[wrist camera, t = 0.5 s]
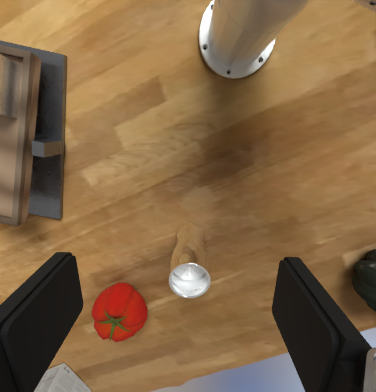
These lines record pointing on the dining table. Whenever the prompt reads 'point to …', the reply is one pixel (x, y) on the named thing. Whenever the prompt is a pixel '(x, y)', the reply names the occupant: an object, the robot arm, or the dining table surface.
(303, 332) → the robot arm
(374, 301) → the squash
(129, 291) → the tomato
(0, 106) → the steel block
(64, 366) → the supplement box
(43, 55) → the pivot stand
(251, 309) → the dining table surface
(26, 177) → the long rimmed wooden tray
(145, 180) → the dining table surface
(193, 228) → the beer glass
